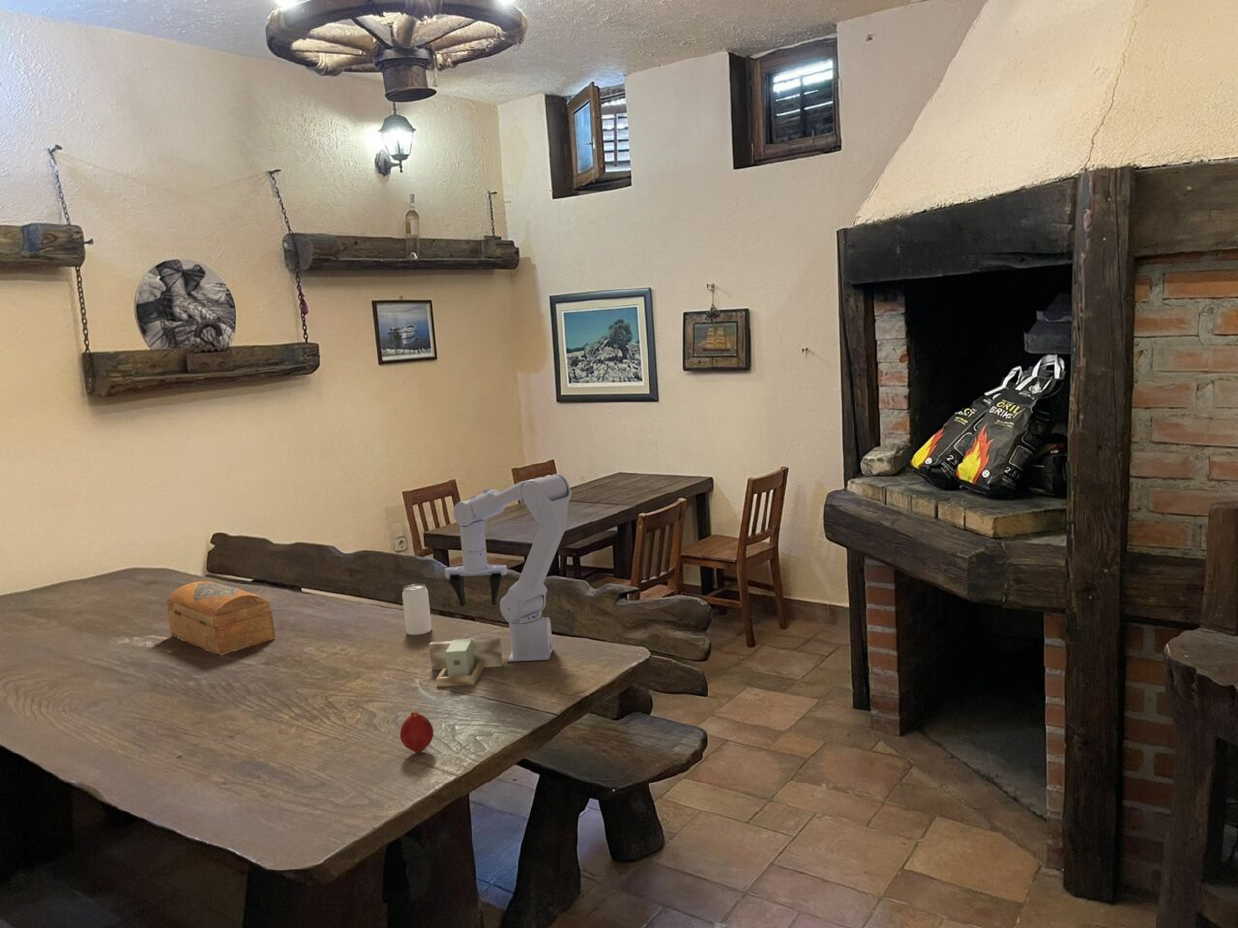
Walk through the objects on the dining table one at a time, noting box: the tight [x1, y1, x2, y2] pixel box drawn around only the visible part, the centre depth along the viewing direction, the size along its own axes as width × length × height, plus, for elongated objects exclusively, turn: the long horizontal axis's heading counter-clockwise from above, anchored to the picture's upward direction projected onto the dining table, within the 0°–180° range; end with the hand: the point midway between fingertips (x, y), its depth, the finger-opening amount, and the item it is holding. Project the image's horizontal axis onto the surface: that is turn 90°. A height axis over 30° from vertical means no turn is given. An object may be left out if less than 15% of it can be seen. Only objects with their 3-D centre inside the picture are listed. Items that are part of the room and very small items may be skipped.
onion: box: [399, 710, 434, 754], centre depth 162 cm, size 6×6×8 cm
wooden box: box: [166, 580, 276, 655], centre depth 240 cm, size 30×16×14 cm, turn 47°
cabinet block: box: [446, 638, 475, 677], centre depth 199 cm, size 4×8×7 cm, turn 179°
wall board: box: [428, 638, 503, 687], centre depth 199 cm, size 16×12×6 cm
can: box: [401, 583, 433, 636], centre depth 232 cm, size 6×6×12 cm
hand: (478, 604), depth 216 cm, fingers open, 7 cm apart
